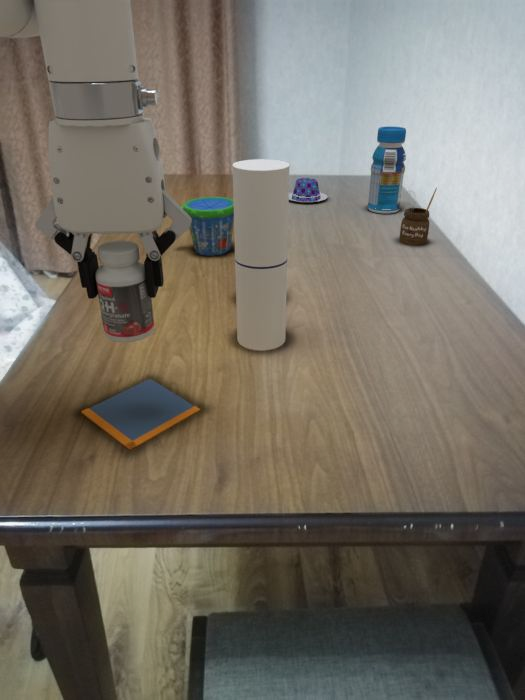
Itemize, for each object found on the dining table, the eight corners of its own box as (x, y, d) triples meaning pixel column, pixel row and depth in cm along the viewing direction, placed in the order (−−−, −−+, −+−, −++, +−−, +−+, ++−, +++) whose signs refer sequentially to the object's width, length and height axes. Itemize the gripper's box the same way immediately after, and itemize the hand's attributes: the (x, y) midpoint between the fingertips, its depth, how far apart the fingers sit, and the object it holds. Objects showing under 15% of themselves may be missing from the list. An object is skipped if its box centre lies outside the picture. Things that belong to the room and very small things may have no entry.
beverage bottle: (360, 209, 141) (367, 128, 131) (380, 204, 146) (388, 124, 136) (386, 216, 136) (396, 131, 126) (406, 210, 140) (417, 128, 130)
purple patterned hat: (306, 207, 143) (307, 187, 141) (275, 198, 151) (275, 179, 148) (336, 199, 150) (337, 180, 148) (305, 191, 158) (305, 173, 155)
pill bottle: (97, 343, 57) (81, 254, 52) (114, 320, 61) (101, 237, 56) (147, 345, 56) (136, 256, 51) (160, 322, 61) (151, 238, 56)
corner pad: (81, 413, 64) (81, 411, 64) (150, 380, 70) (149, 377, 70) (130, 452, 58) (130, 449, 58) (200, 411, 64) (200, 409, 64)
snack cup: (169, 258, 110) (164, 208, 105) (183, 241, 119) (179, 195, 114) (244, 262, 108) (243, 211, 103) (253, 245, 117) (252, 197, 112)
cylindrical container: (230, 347, 78) (224, 168, 65) (246, 325, 84) (243, 157, 71) (278, 354, 76) (280, 172, 63) (290, 331, 82) (295, 160, 69)
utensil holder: (400, 236, 121) (407, 182, 115) (429, 239, 120) (437, 184, 114) (397, 245, 117) (404, 188, 111) (426, 248, 115) (435, 191, 109)
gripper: (198, 99, 51) (208, 278, 60) (14, 100, 50) (53, 280, 59) (191, 107, 44) (204, 307, 53) (-19, 109, 44) (29, 309, 53)
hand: (124, 291), depth 56 cm, fingers closed on pill bottle, 5 cm apart
